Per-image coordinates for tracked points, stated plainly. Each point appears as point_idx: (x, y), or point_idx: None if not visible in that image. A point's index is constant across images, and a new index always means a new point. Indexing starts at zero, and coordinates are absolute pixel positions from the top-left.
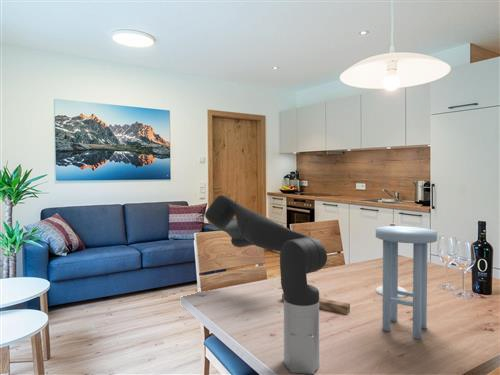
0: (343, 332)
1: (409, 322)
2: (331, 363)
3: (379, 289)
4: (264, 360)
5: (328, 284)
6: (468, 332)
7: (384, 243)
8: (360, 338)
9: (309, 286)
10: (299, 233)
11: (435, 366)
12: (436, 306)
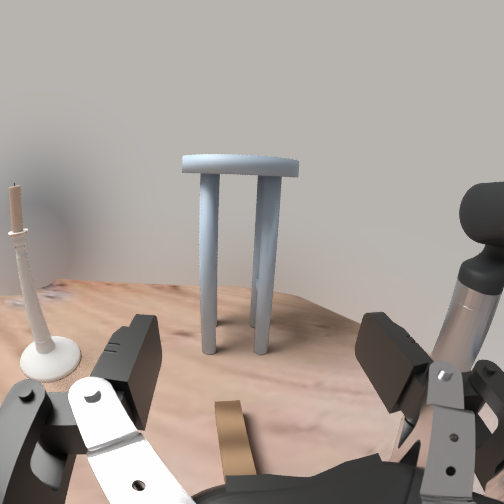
0: (331, 386)
1: None
2: None
3: (52, 370)
4: None
5: None
6: (196, 296)
7: (280, 186)
8: (326, 364)
9: (478, 255)
10: (497, 182)
11: (314, 307)
12: (110, 315)
